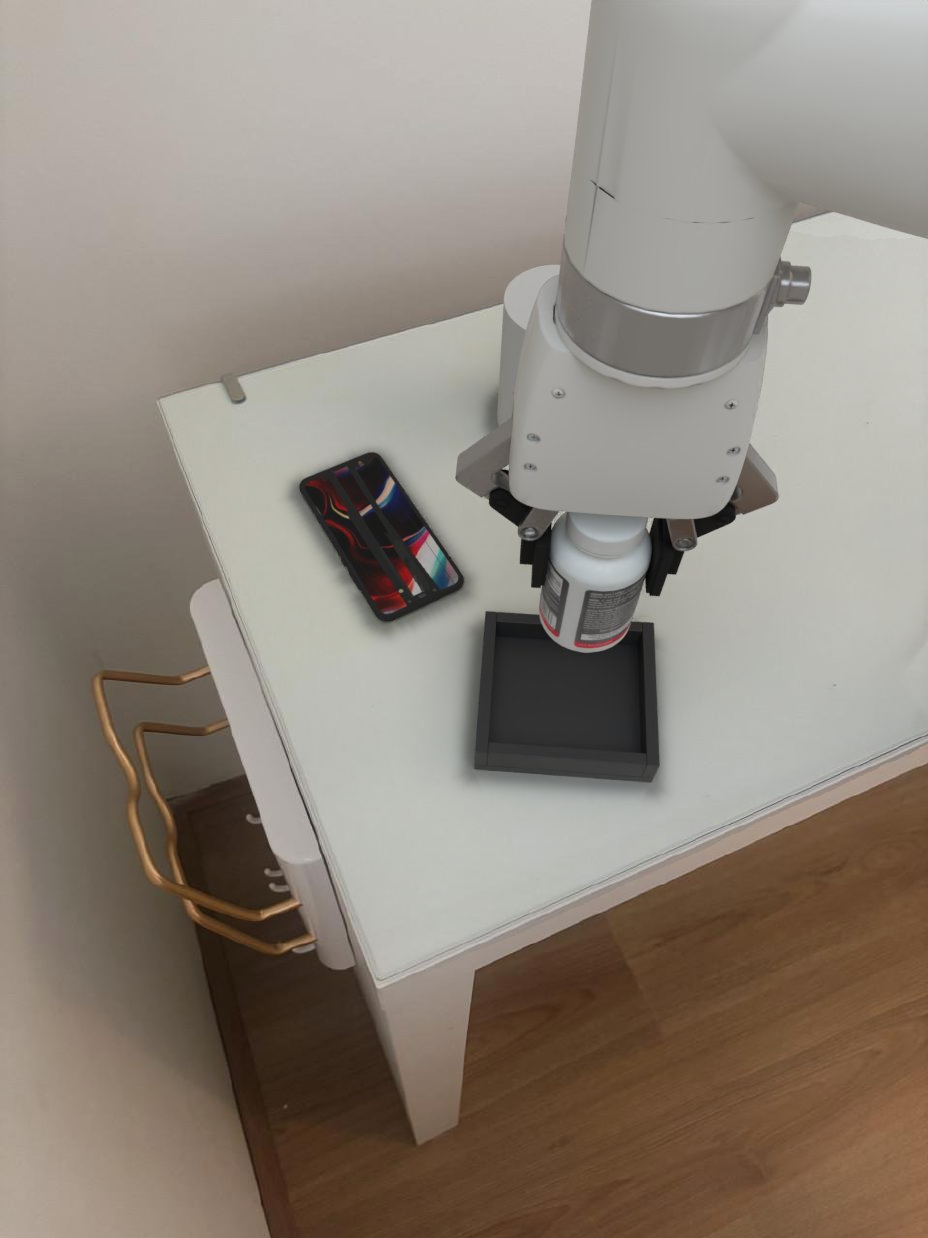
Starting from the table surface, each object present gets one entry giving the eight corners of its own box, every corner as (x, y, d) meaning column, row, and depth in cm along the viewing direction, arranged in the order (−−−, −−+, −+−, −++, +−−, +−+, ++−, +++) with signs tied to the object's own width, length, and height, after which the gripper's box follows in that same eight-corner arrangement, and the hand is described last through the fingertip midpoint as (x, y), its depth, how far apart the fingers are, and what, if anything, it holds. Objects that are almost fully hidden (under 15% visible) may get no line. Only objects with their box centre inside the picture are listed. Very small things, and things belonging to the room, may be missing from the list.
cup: (513, 463, 74) (523, 348, 64) (485, 393, 78) (490, 274, 68) (608, 444, 75) (632, 327, 65) (575, 376, 79) (593, 256, 69)
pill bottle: (642, 595, 54) (677, 488, 46) (613, 669, 51) (645, 568, 43) (556, 565, 55) (575, 454, 47) (523, 635, 52) (537, 531, 44)
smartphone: (376, 448, 74) (468, 581, 67) (376, 453, 74) (468, 587, 67) (293, 481, 72) (380, 623, 65) (295, 487, 72) (380, 628, 66)
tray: (646, 642, 65) (654, 622, 63) (651, 782, 60) (659, 766, 57) (484, 631, 66) (485, 610, 63) (474, 769, 60) (474, 752, 58)
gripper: (877, 238, 36) (748, 525, 51) (437, 212, 36) (441, 504, 51) (913, 374, 32) (761, 641, 47) (418, 344, 32) (429, 617, 47)
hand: (595, 568), depth 49 cm, fingers closed on pill bottle, 5 cm apart
